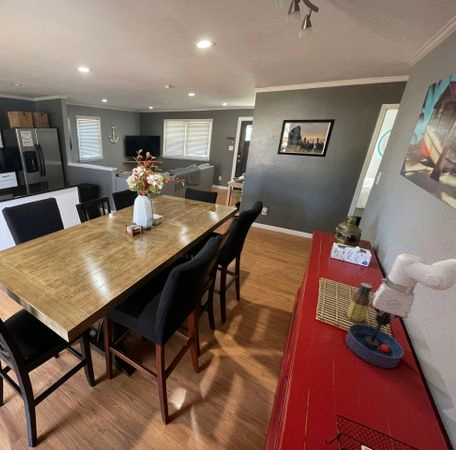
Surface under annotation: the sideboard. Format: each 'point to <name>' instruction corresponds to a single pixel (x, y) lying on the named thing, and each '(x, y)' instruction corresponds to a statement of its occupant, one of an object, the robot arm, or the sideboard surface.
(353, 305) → the sauce bottle
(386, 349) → the tomato
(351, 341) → the bowl
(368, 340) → the dark grey rod
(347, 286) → the sideboard surface
